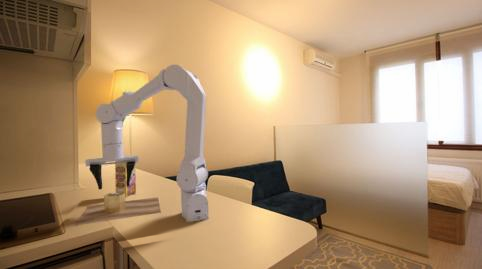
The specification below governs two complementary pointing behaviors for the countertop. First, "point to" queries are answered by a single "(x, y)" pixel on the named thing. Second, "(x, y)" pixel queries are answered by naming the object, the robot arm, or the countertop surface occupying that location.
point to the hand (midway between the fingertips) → (114, 187)
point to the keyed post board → (132, 209)
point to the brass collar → (114, 203)
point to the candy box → (124, 180)
